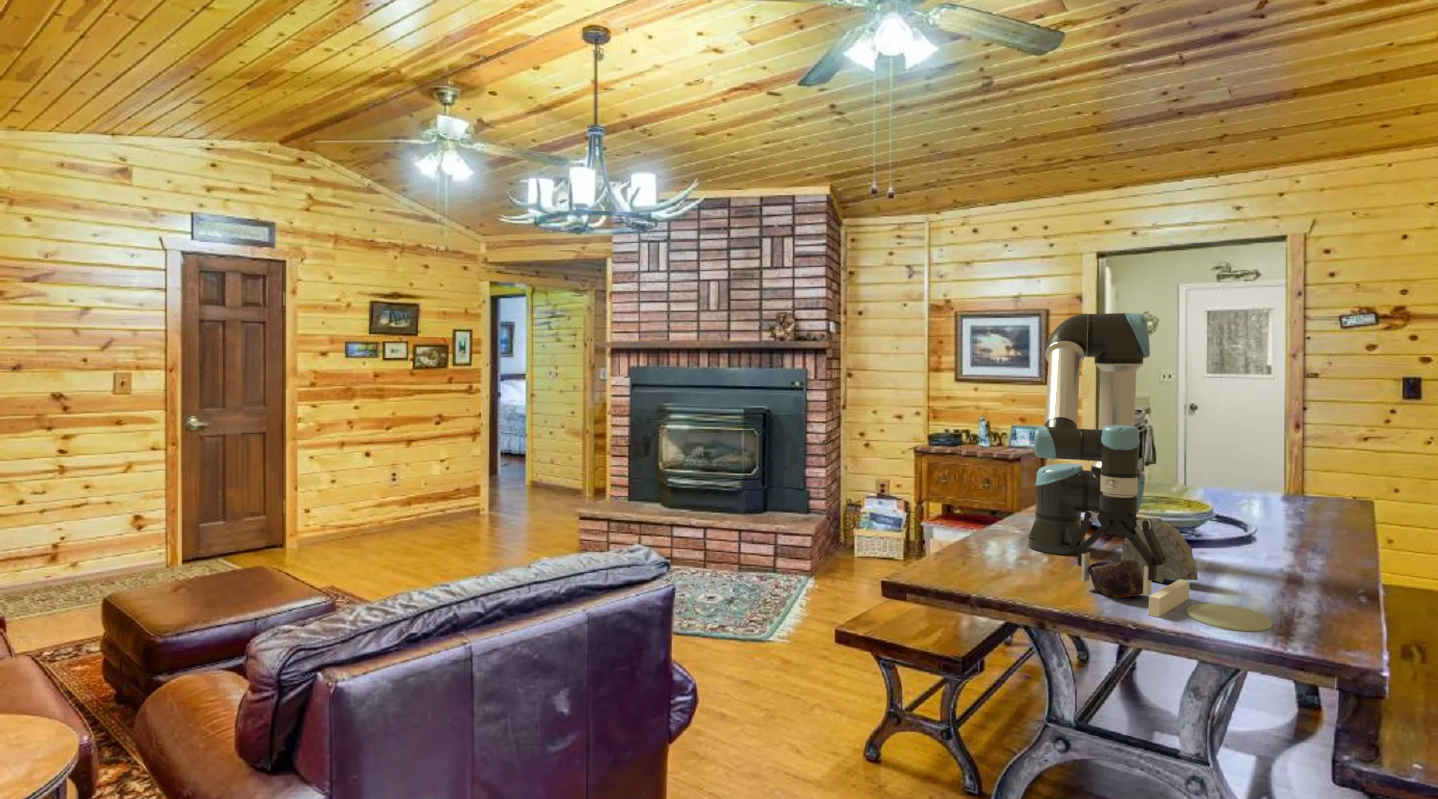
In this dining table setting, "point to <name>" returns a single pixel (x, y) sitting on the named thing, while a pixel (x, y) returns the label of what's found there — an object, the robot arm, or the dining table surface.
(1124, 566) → the rock
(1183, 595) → the rail
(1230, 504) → the dining table surface
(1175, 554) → the decorative rock
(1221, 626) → the felt pad
